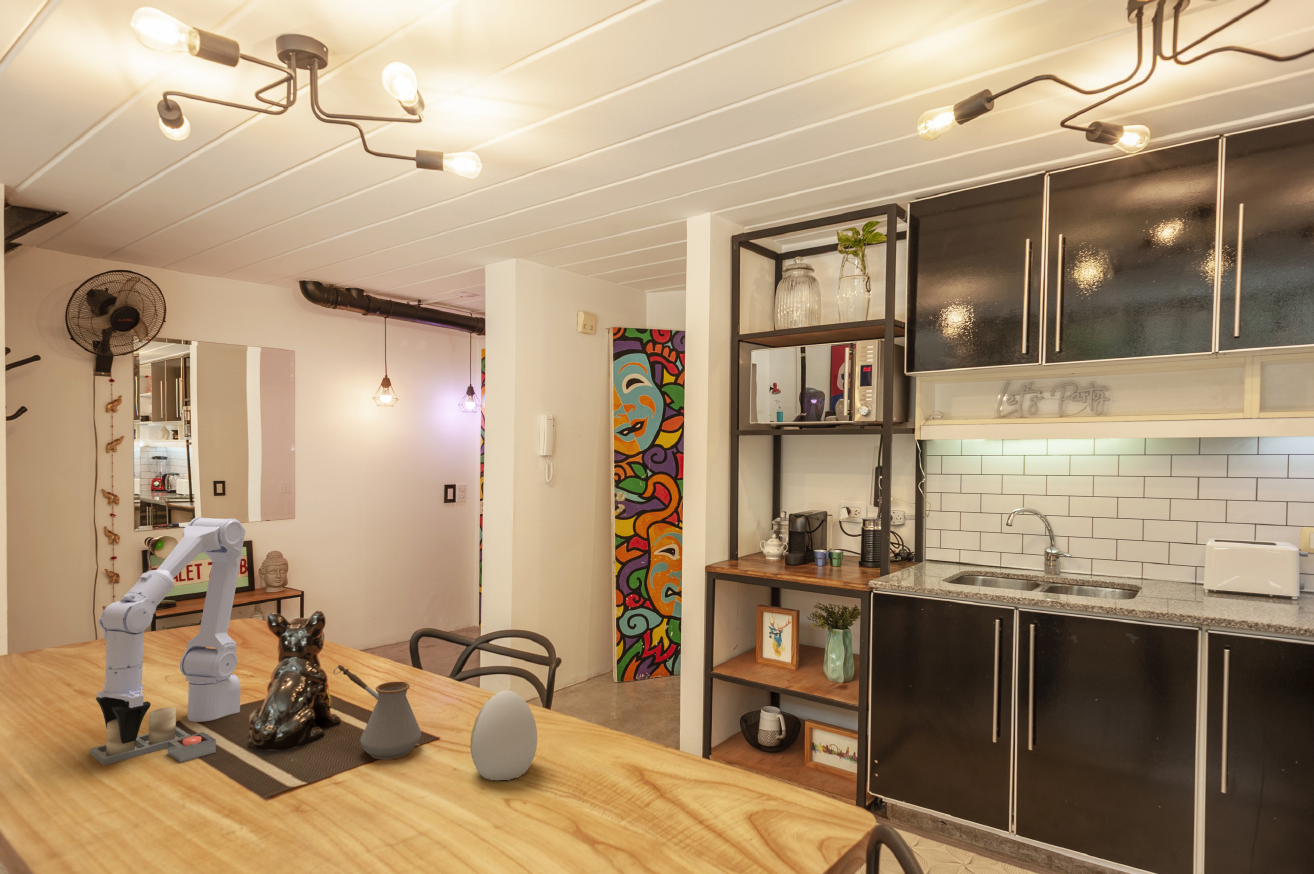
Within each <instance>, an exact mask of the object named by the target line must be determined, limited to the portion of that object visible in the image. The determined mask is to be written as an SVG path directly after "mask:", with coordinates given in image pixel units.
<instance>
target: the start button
mask: <svg viewBox="0 0 1314 874" xmlns="http://www.w3.org/2000/svg"><path fill="white" fill-rule="evenodd" d="M201 738H202V737H201V736H191V737H187V738H185V739H183V746H188V745H191V744H195V743H199V742H201Z"/></svg>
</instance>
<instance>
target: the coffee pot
mask: <svg viewBox="0 0 1314 874" xmlns="http://www.w3.org/2000/svg"><path fill="white" fill-rule="evenodd" d="M337 669H338V670H339V671H338V672H337V673H336V672H335V671H336V670H337ZM341 672H342V673H343V675H344V676H347V677H348V679H349V680H350V681H351V682H353V683H354V684H356V685H357V686H359V688H362V689H363V690H365V691H367V693H369V694H370V695H371V696H372V697H373V698H374V699H375V700H377V701H376V703H375V705H374V707H373V710H372V712H371V713H370V717H369V719H368V720H367V724H366V726H365V728H364V730H363V732H362V735H361V737H360V739H359V742H360V745H361V748H362V749H363V750H364V751H365V752H366V753H367V754H369V755H370V757H372V758H374V759H377V760H393V759H398V758H402V757H404V756H406V755H408V754H409V753H410V752H411V751H412V750H413V749H414V748H415V747H416V746H417V745H418V743H419V742H420V740H421V738H422V730H421V728H420V726H419V723H418V722H417V718H416V716H415V714H414V712H413V710H412V707H411V705H410V702H409V700H408V697H407V693H408V690H409V689H410V687H411V685H410V684H409V682H406V681H390V682H384V683H380V684H378V685H376V687H375V691H374V690H373V689H372V688H370V687H369V686H368V685H367V684H366V683H365V682H364V681H363V680H362V679H361V678H360V677H359V676H357V675H356V674H355V673H352V672H351V671H349V669H348V668H345V666H343V665H341V664H338V665H337V667H336V668H334V670H333V674H335V675H338V674H340V673H341Z"/></svg>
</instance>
